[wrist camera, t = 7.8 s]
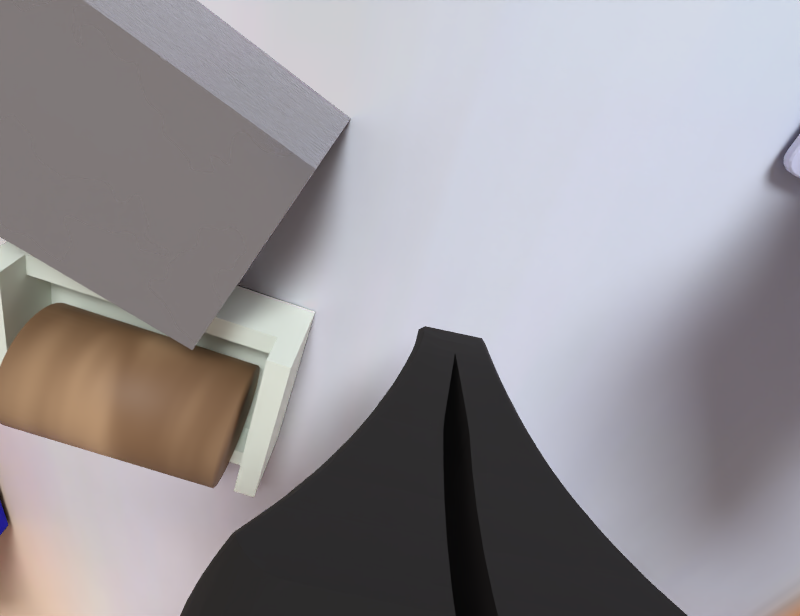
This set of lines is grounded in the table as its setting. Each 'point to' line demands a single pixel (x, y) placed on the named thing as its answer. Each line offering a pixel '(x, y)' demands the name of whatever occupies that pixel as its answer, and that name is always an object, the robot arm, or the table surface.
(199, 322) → the slab
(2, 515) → the puzzle cube
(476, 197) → the table surface
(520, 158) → the table surface
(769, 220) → the table surface
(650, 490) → the table surface
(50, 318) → the roller
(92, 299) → the cradle
